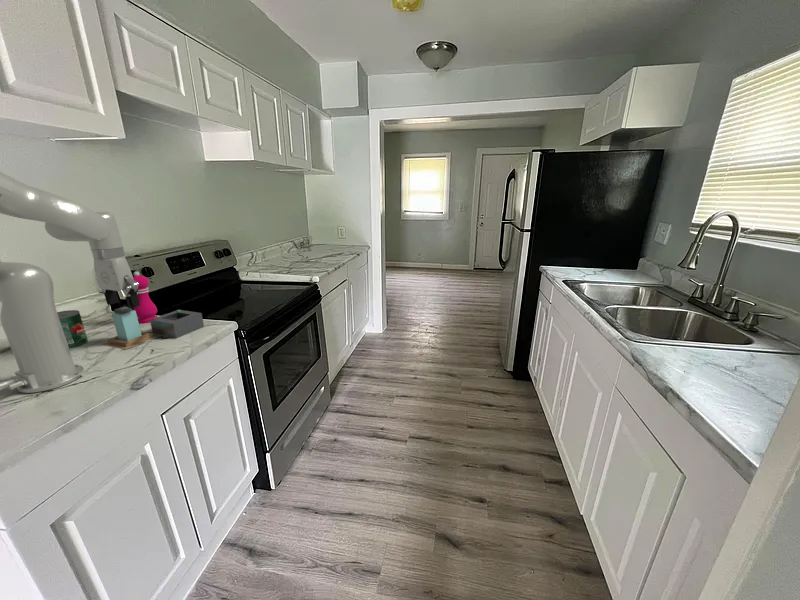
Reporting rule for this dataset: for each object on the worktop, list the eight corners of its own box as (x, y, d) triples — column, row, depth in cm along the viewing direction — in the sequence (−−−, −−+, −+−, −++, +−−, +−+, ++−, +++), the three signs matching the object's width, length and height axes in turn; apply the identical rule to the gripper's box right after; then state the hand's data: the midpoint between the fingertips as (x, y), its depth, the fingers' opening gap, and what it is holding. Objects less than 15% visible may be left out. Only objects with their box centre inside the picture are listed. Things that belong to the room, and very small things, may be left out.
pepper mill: (131, 324, 124) (118, 273, 118) (150, 317, 131) (138, 269, 124) (145, 326, 122) (133, 274, 116) (164, 319, 129) (152, 270, 123)
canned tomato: (52, 346, 105) (41, 314, 102) (85, 338, 111) (75, 308, 108) (58, 353, 101) (47, 320, 97) (91, 344, 107) (82, 313, 104)
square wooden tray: (125, 351, 103) (123, 345, 102) (101, 345, 106) (100, 340, 106) (159, 337, 113) (158, 332, 112) (136, 333, 116) (135, 327, 116)
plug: (128, 343, 107) (120, 311, 103) (119, 341, 108) (110, 309, 105) (142, 338, 111) (134, 307, 107) (133, 336, 112) (125, 305, 109)
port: (176, 340, 111) (173, 322, 109) (153, 335, 114) (149, 318, 112) (204, 328, 121) (201, 312, 119) (182, 324, 124) (178, 308, 122)
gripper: (75, 253, 100) (92, 305, 105) (115, 258, 95) (130, 312, 100) (103, 249, 106) (117, 298, 112) (141, 253, 101) (154, 304, 107)
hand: (123, 305), depth 106 cm, fingers open, 9 cm apart
